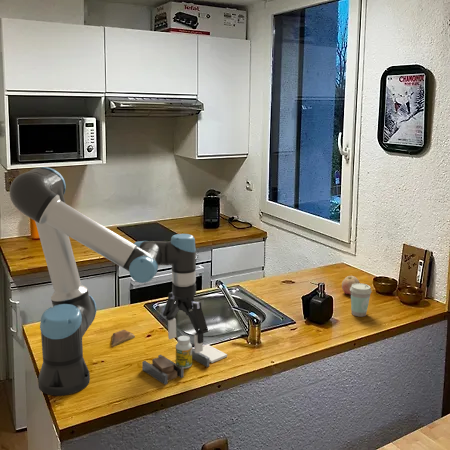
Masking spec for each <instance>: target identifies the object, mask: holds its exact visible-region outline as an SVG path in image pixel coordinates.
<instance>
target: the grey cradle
mask: <svg viewBox="0 0 450 450" xmlns="http://www.w3.org/2000/svg"><path fill="white" fill-rule="evenodd" d="M162 356H163V355H162V354H159V355H158V357H162ZM158 357H157V358H158ZM164 357H165V356H164ZM165 358H166V359H167V360H168V361H169V362H171V363H172V364H173V365H174V370H176V371H177V377H179V378H180V379H181V378H184V376H185V375H184V374H185V373H184V372H185V369H184V368H182V367H181V366H179V365H177V364H176V362H174V361H172V360H170V359H169V358H168V357H165ZM209 359H210V358H209V357H207V356H205V355H204V354H202V353H200V352H198V353H195V348H193V347H192V360H194V361H196V362H197V363H199V364H201V365H202V366H205V367H206V368H208V367H210V362H209ZM151 364H152V363H150V362H148V361H146V360H143V361H142V363H141V365H142V371H143V372H145V373H146V374H148V375H149V376H151V377H153V378H154V379H156V380H157V381H158V382H160V383H161V384H163V385H164V386H165V385H168V383H169V382H168V375H167V374H165V373H164V372H162V371H161V370H159V369H157V368H156V367H154V366H153V365H151Z"/></svg>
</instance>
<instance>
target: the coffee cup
mask: <svg viewBox="0 0 450 450" xmlns="http://www.w3.org/2000/svg"><path fill="white" fill-rule="evenodd" d="M350 291H351V295H350V305H351V308H350V310H351V315H353V316H355V317H363V318H364V317H366V316H367V312H368V308H369V303H370V302H369V301H370V298H371V293H373V291H372V288H371V286H370V285H368V284H366V283H356V284H352V286H351V288H350Z"/></svg>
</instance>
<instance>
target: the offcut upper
mask: <svg viewBox="0 0 450 450" xmlns="http://www.w3.org/2000/svg"><path fill="white" fill-rule="evenodd" d="M166 358H167V357H166ZM166 358H165V356H164V355H162V357H155V358H152V363H151V364H152V365H153V366H154V367H156V368H157V369H159V370H161V371H162V372H164V373H169V372H172V371H174V365H173V364H172V363H171V362H169V361H168V360H167V359H168V358H167V359H166Z"/></svg>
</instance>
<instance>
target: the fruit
mask: <svg viewBox="0 0 450 450" xmlns="http://www.w3.org/2000/svg"><path fill="white" fill-rule="evenodd" d="M356 283H360V280H359V279H358V278H357V277H356V276H355V275H354V276H353V275H348V276H345V278H344V279H343V280H342V282H341V289H342V291H343V292H344V293H345V294H346V295H348V296H351V291H350V288H351V286H352V284H356Z"/></svg>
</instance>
